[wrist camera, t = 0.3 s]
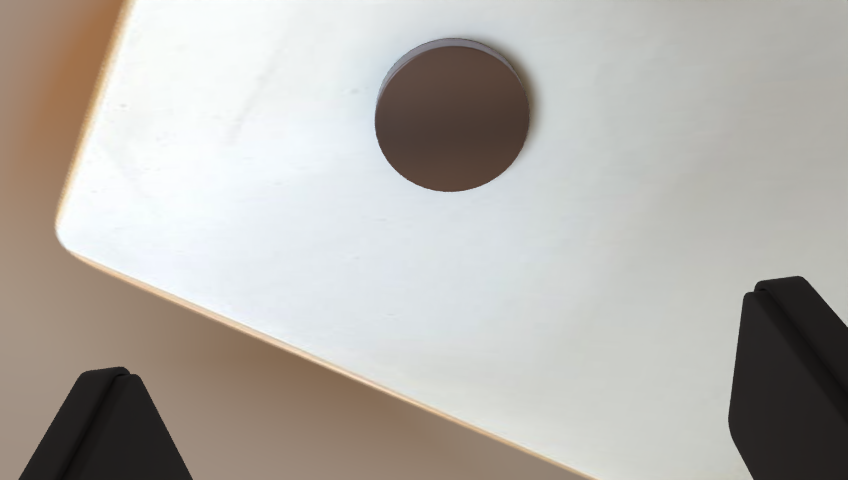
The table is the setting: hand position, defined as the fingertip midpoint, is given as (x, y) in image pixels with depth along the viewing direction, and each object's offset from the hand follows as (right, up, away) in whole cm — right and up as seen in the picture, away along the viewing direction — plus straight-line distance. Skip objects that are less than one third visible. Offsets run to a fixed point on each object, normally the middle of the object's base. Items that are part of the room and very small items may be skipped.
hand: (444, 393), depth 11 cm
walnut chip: (+1, +10, +28) cm, 29 cm away
